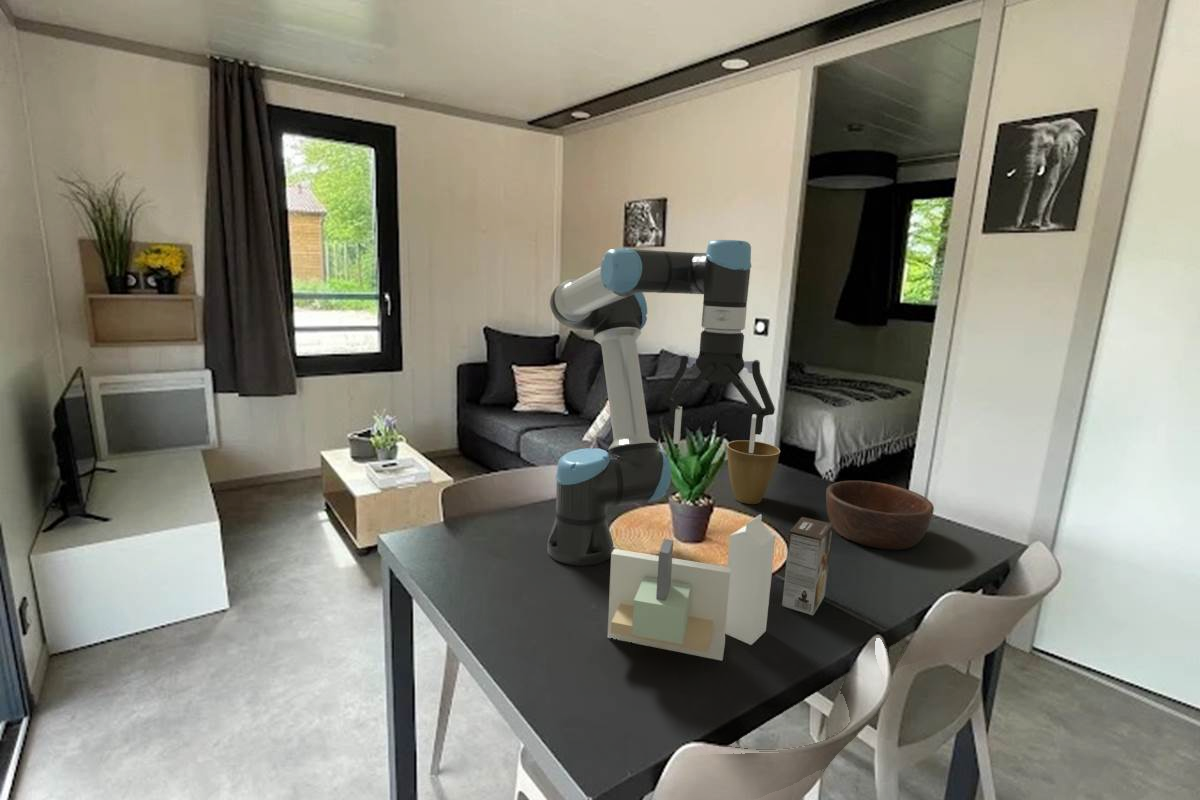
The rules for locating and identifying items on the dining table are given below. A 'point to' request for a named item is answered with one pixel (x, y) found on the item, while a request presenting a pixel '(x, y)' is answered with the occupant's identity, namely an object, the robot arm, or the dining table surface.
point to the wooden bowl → (878, 514)
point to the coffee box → (807, 565)
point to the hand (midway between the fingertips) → (713, 446)
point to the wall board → (704, 602)
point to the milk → (749, 580)
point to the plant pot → (751, 469)
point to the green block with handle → (662, 603)
